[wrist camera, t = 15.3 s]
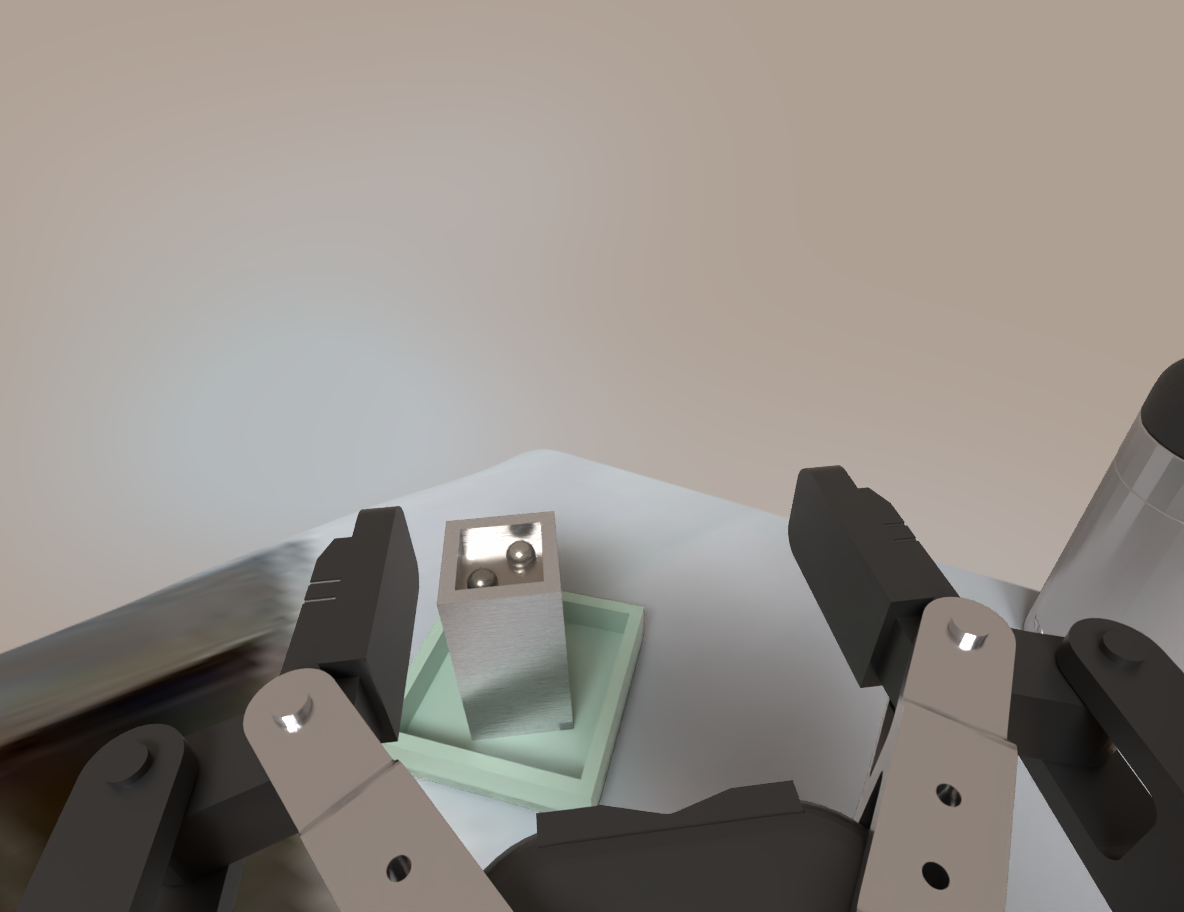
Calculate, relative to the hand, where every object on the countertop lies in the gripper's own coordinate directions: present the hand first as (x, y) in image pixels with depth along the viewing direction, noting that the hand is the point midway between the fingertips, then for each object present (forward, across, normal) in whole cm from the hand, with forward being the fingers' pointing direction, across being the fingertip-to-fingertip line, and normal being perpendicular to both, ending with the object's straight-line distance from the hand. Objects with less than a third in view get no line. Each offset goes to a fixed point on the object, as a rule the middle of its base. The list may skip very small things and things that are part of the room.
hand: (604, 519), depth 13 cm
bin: (+15, +4, +28) cm, 32 cm away
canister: (+15, +4, +27) cm, 31 cm away
